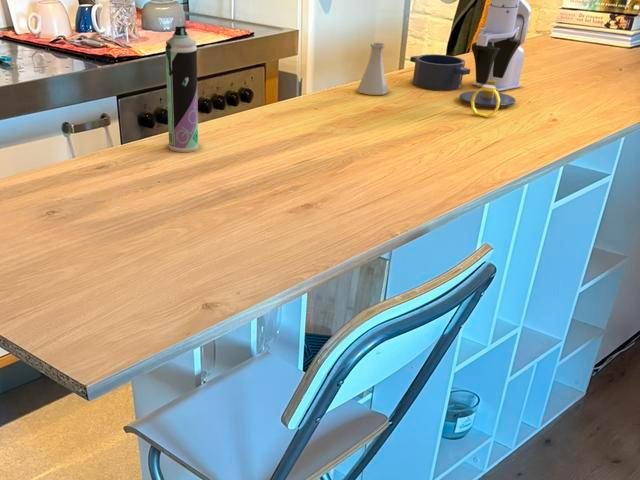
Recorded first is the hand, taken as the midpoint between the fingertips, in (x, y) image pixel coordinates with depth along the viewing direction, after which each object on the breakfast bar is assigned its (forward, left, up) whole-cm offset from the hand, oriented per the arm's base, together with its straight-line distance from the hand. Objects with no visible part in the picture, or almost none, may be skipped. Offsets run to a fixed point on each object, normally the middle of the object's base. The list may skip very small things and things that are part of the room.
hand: (489, 80), depth 172 cm
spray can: (+68, -16, -7) cm, 70 cm away
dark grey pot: (-13, -25, -7) cm, 29 cm away
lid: (-10, -7, -6) cm, 14 cm away
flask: (+6, -28, -7) cm, 29 cm away
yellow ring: (0, 0, -7) cm, 7 cm away
